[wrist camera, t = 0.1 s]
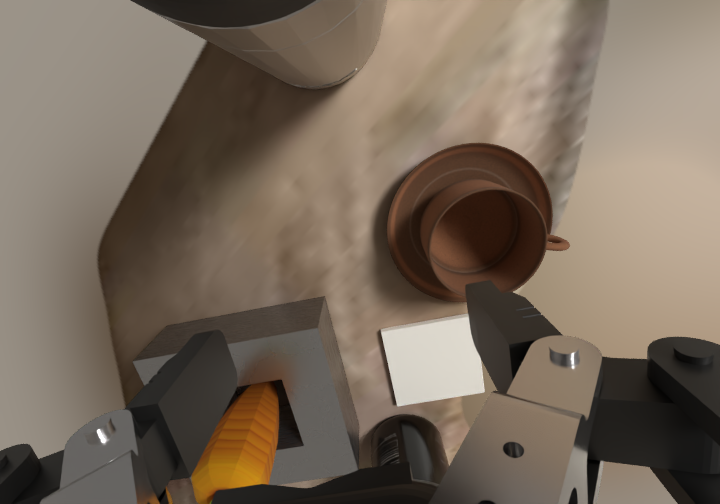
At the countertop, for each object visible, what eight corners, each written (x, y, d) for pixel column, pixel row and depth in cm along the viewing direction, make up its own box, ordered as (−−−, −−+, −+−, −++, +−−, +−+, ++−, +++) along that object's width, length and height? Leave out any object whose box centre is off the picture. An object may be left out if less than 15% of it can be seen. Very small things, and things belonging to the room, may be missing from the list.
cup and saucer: (531, 121, 26) (579, 121, 20) (547, 272, 30) (592, 308, 24) (368, 166, 27) (369, 178, 21) (404, 306, 31) (413, 348, 25)
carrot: (302, 366, 33) (257, 549, 19) (285, 407, 34) (231, 605, 20) (249, 347, 32) (161, 523, 18) (234, 390, 34) (141, 583, 20)
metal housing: (166, 325, 32) (132, 361, 27) (324, 296, 31) (317, 327, 26) (220, 447, 36) (198, 496, 31) (359, 425, 35) (358, 472, 30)
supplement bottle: (380, 471, 37) (388, 624, 26) (363, 419, 35) (363, 562, 24) (447, 458, 36) (486, 609, 25) (434, 404, 34) (469, 543, 23)
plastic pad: (380, 329, 32) (381, 332, 31) (473, 312, 31) (475, 315, 30) (396, 402, 34) (397, 406, 34) (483, 388, 34) (484, 392, 33)
